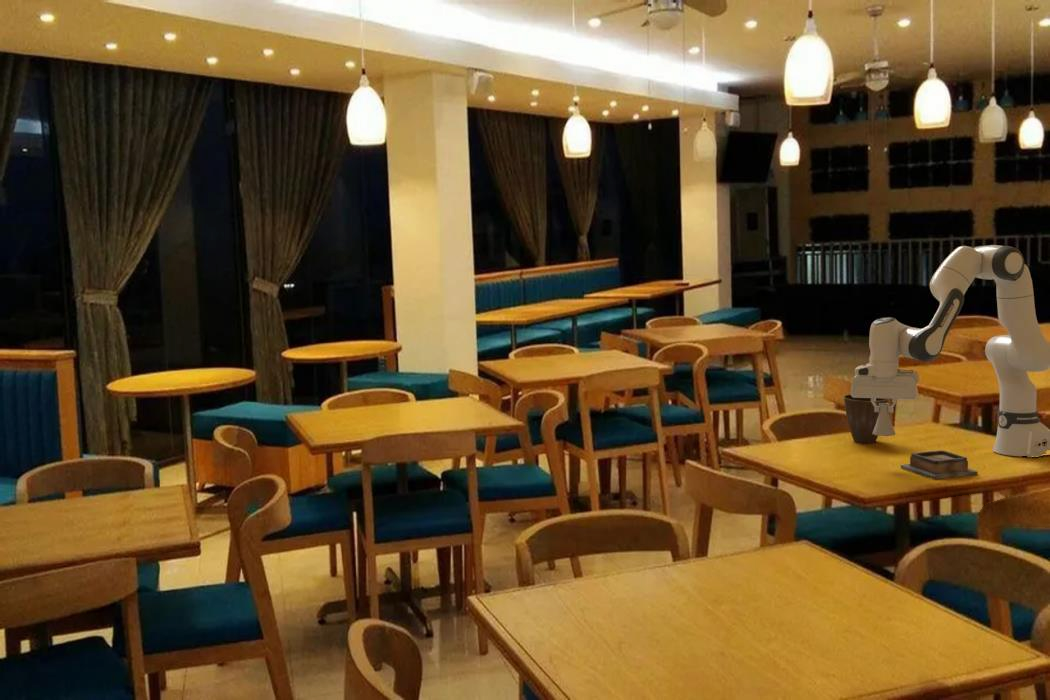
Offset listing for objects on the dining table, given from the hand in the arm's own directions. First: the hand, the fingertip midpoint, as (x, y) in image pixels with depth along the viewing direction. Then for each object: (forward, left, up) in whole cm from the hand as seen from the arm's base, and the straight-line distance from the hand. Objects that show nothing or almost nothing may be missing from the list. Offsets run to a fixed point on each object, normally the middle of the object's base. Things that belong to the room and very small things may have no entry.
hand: (883, 412), depth 336 cm
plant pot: (-17, -34, -18) cm, 42 cm away
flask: (0, 0, -8) cm, 8 cm away
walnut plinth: (-12, +12, -18) cm, 24 cm away
